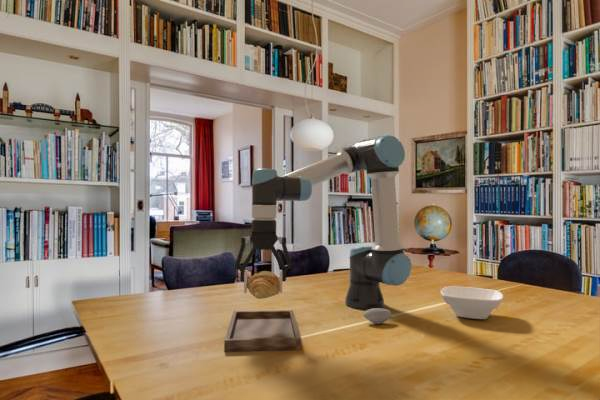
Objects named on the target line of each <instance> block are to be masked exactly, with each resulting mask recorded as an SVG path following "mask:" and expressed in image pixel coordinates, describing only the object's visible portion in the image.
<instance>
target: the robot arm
mask: <svg viewBox="0 0 600 400" xmlns="http://www.w3.org/2000/svg"><path fill="white" fill-rule="evenodd" d="M405 154H406V152H405V147H404V145H403V144H402V141H400V140H399V139H398V138H397V137H396V136H393V135H389V134H388V135H378V136H376V137H372V138H371V137H370V138H368V139H362V140H359V141H358V142H355V143H354V144H352V145H349V146H347V147H345V148H344V149H341V150H339V151H337V153H336V154H335V155H332V156H330V157H327V158H325V159H322V160H319V161H318V162H315V163H312V164H310V165H307V166H305V167H302V168H299V169H297V170H294V171H291V172H289V173H287V174H284V175H281V176H279V175H278V171H277V170H276V169H274V168H273V169H272V168H257V169H254V170H253V172H252V178H251V195H252V196H251V197H252V198H251V199H252V202H251V218H252V219H253V220H252V221H251V234H250V236H242V237H241V239H240V243H241V245H240V248H239V252H238V254H237V257H236V260H235V264H234V269H235V270H238V271H240V282H242V283H243V293H244V294H247V292H248V288H247V281H248V269H247V266H248V265H249V263H250V262H251V259H252V258H253V257H254V255H255V253H256V251H257V250H258V251H263V250H266V251H269V250H270V251H271V253H272V254H273V256H274V257H275V259H276V261H277V263H278V265H279V266H280V270H279V282H280V291H279V294H282V293H283V282H286V281H287V271H288V270H291V269H292V268H293V264H292V262H291V258H290V254H289V252H288V248H287V238H286V236H283V237H282V236H278V235H277V220H276V219H277V202H285V201H286V202H288V201H289V202H290V201H291V202H295V201H296V202H297V201H298V202H304V201H305V202H306V201H308V200H309V199H310V198H311V197H312V193H313V187H314V186H317V185H320V184H321V183H324V182H327V181H328V180H331V179H333V178H335V177H337V176H340V175H343V174H344V175H350V174H351V173H355V172H361V171H365V172H366V176H368V178H370V180H371V181H370V182H371V184H370V185H371V194H372V195H371V197H372V199H371V200H372V212H373V213H372V215H373V228H374V229H373V230H374V244H373V245H372V246H357V247H351V248H350V251H349V286H348V289H347V293H346V295H345V298H344V299H345V301H344V302H345V305H346V306H347V307H350V308H354V309H361V310H369V309H373V308H381V309H382V308H383V307H384V306H385V299H384V296H383V292H382V290H381V286H380V284H384V285H386V286H394V287H395V286H401V285H403V284H404V283H406V281H407V280H408V278H409V277H410V275H411V271H412V260H411V259H410V258H409V256H408V255H407V254H405V252H404V246H403V245H402V244H401V243H400V239H399V238H400V237H399V221H398V207H397V206H398V205H397V191H396V190H397V188H396V177H397V175H398V174H399V172H400V166H401V165H402V164H403V163H404V161H405V158H406V157H405ZM249 241H250V242H251V243H252V245H253V247H252V248H251V250H250V251H249V254H248V255H247V256H246V258H245V260H244V262H243V264H242V265H241V261H242V258H243V256H244V251H245V250H246V249H245V248H246V245H247V244H248V243H249ZM277 241H278V242H279V244H281V247H282V251H283V254H284V257H285V261H286V265H285V264H284V262H283V260H282V258H281V256H280V254H279V253H278V251H277V250H276V247H275V246H274V245H275V244H276V243H277Z"/></svg>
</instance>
